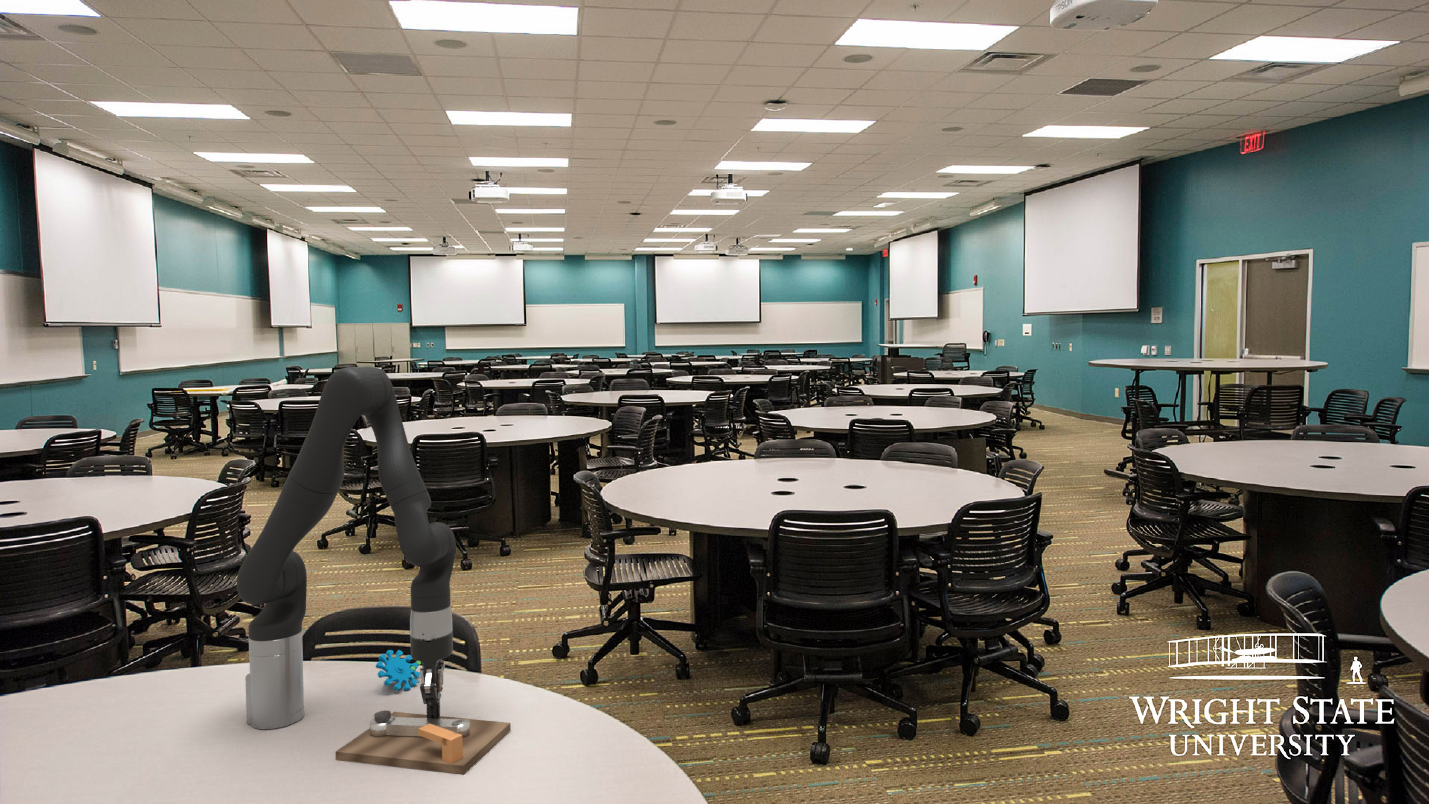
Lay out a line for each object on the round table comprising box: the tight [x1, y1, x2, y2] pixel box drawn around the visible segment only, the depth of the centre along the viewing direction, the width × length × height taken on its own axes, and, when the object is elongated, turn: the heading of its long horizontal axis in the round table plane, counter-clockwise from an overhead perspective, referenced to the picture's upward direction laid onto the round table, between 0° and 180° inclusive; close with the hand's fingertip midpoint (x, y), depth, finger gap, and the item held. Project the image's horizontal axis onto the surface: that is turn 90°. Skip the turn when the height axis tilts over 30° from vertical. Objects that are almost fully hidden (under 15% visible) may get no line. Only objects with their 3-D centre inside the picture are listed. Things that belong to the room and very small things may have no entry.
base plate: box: [335, 710, 512, 775], centre depth 146 cm, size 25×17×5 cm
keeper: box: [418, 724, 463, 764], centre depth 139 cm, size 9×2×4 cm, turn 57°
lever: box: [369, 716, 470, 737], centre depth 148 cm, size 19×4×2 cm, turn 85°
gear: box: [375, 649, 422, 692], centre depth 175 cm, size 11×6×10 cm
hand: (433, 720), depth 151 cm, fingers closed
